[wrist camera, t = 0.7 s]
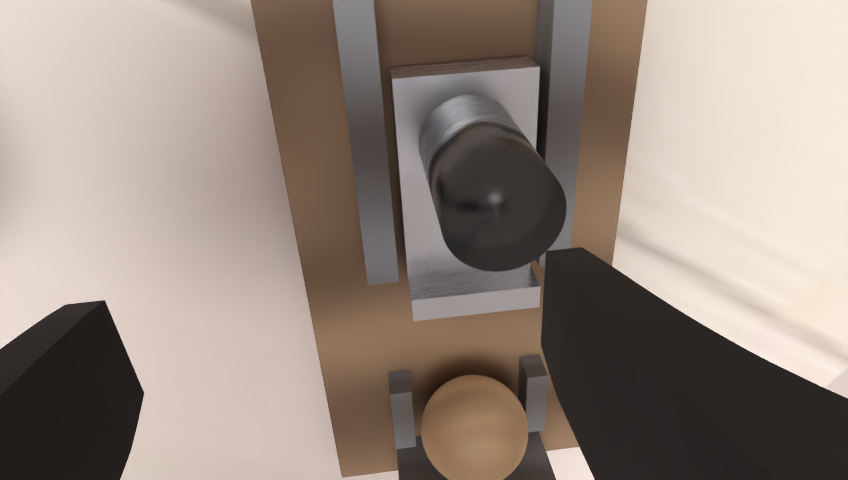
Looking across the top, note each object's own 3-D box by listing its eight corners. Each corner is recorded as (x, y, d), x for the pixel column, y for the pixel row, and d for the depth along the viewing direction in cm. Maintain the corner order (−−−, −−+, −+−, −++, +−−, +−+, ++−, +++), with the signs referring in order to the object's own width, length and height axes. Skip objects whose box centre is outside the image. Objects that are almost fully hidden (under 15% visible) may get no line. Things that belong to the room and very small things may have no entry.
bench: (580, 428, 27) (618, 516, 23) (342, 458, 26) (341, 555, 22) (636, -34, 17) (720, -13, 13) (255, -7, 16) (227, 24, 12)
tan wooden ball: (512, 419, 25) (538, 503, 21) (418, 431, 25) (430, 518, 21) (514, 347, 23) (544, 427, 19) (412, 359, 22) (424, 442, 19)
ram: (520, 266, 20) (574, 381, 16) (406, 277, 20) (425, 400, 15) (528, 56, 17) (602, 121, 12) (389, 67, 16) (406, 139, 12)
